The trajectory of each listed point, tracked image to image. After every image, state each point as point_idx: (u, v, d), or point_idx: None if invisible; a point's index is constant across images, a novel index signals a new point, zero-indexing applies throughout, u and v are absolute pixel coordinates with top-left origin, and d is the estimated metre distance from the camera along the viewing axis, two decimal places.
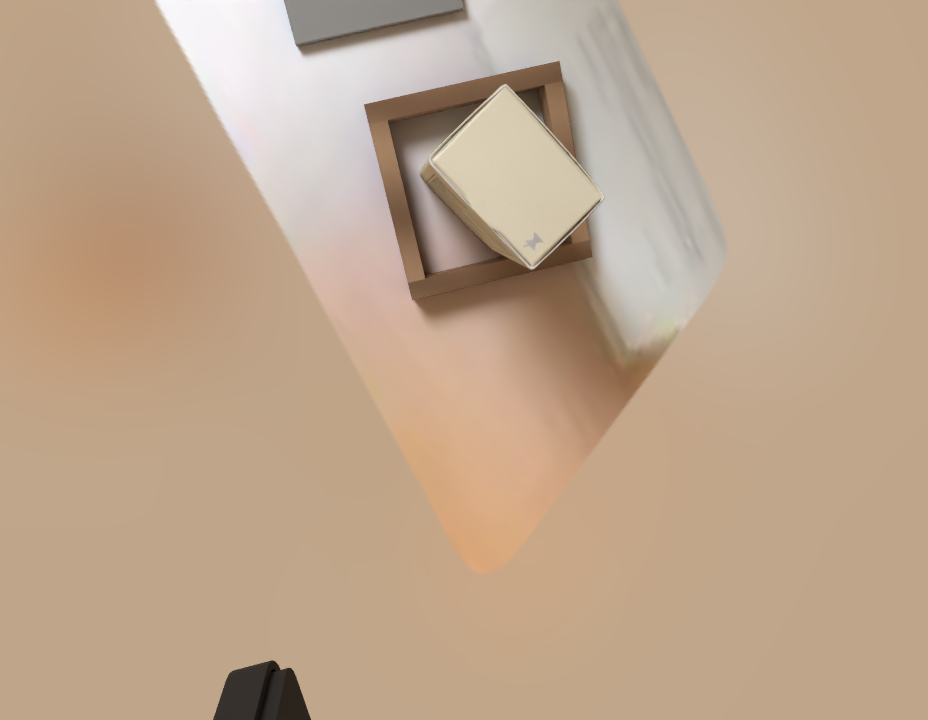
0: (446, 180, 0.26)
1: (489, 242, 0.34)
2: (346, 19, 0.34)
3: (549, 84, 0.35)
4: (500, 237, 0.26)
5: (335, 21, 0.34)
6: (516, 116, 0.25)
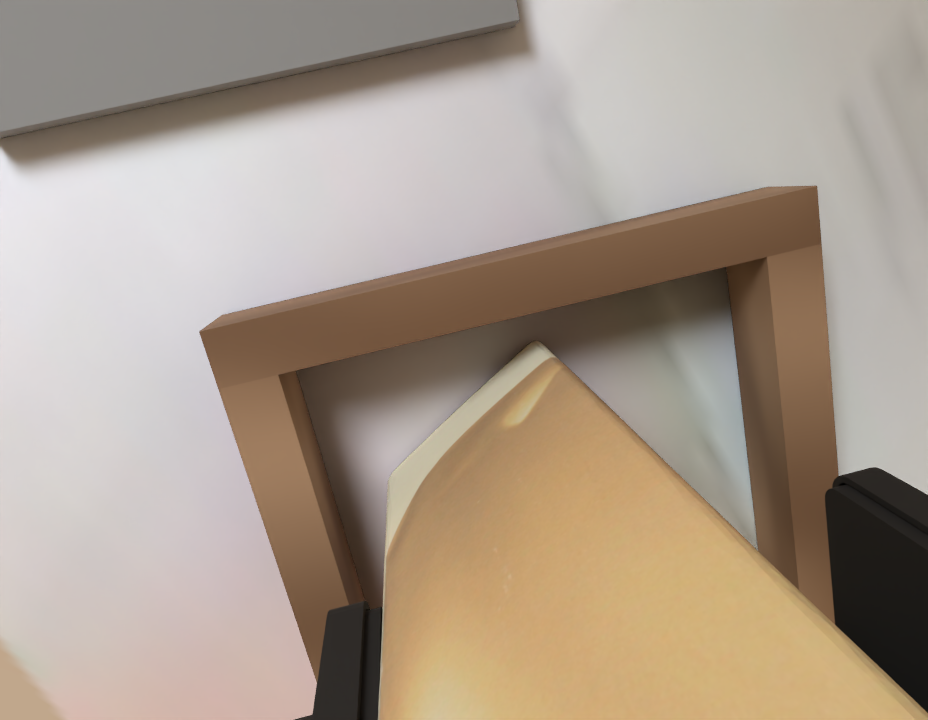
0: None
1: None
2: (140, 56, 0.10)
3: (781, 255, 0.11)
4: None
5: (103, 64, 0.10)
6: None
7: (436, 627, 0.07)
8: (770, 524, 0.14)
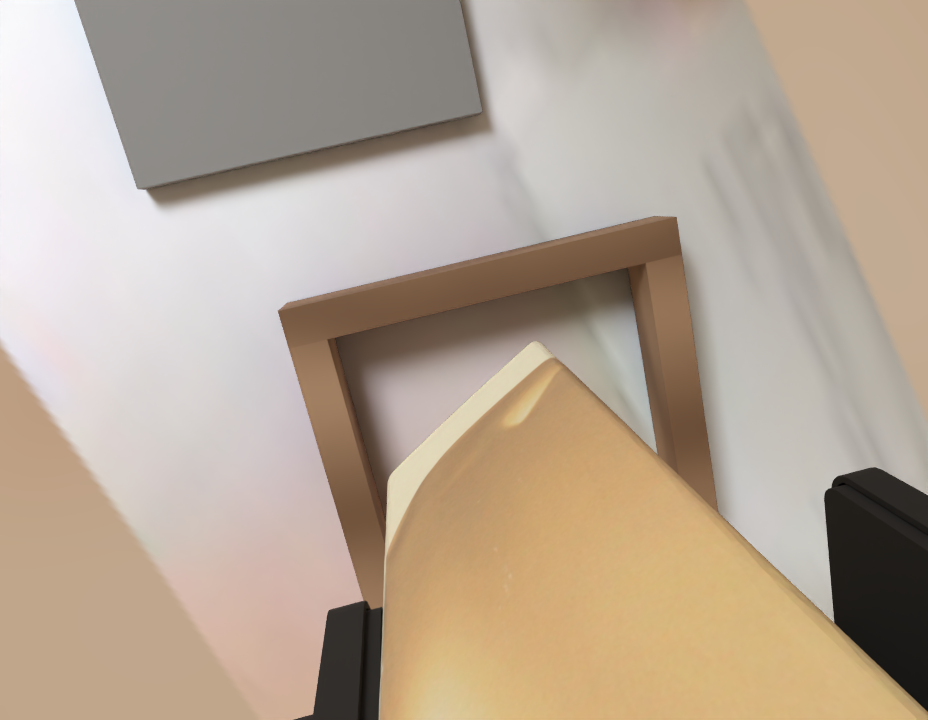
0: None
1: None
2: (242, 137, 0.17)
3: (655, 262, 0.17)
4: None
5: (219, 143, 0.17)
6: None
7: (437, 626, 0.07)
8: (664, 450, 0.20)
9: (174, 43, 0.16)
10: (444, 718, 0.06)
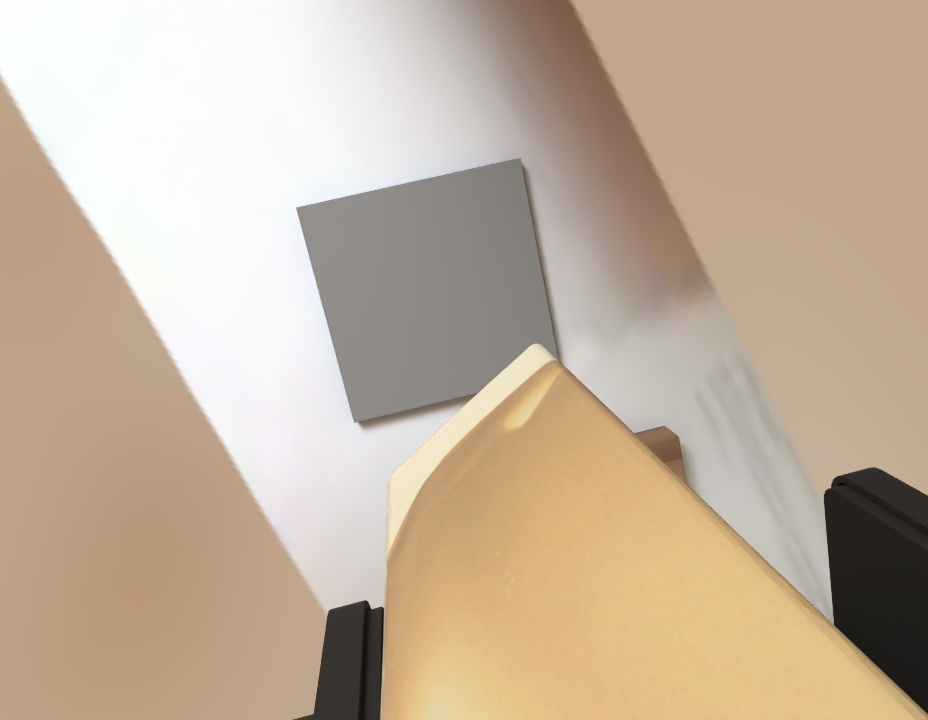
0: None
1: None
2: (417, 392, 0.28)
3: (665, 463, 0.28)
4: None
5: (404, 395, 0.28)
6: None
7: (438, 631, 0.07)
8: None
9: (382, 341, 0.27)
10: None
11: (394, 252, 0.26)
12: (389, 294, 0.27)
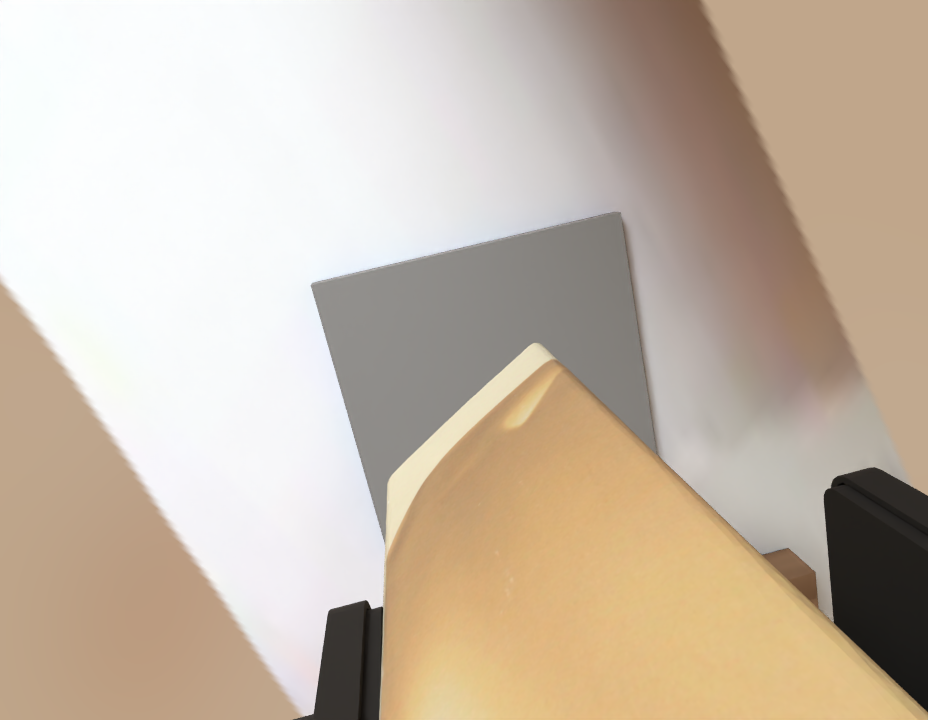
0: None
1: None
2: None
3: None
4: None
5: None
6: None
7: (437, 630, 0.07)
8: None
9: None
10: None
11: (446, 342, 0.19)
12: (439, 397, 0.20)
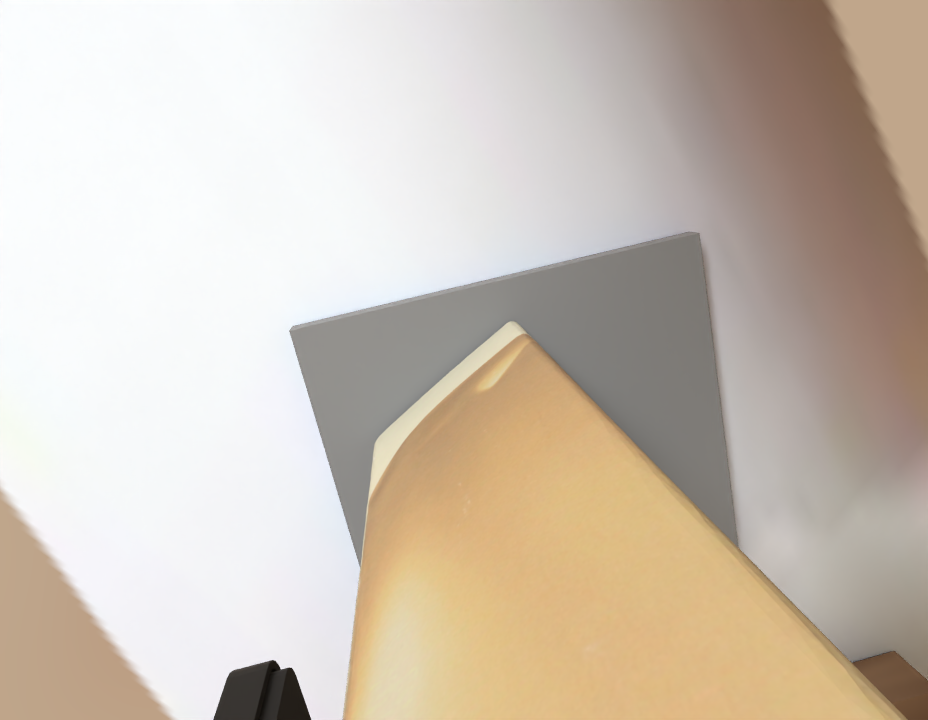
0: None
1: None
2: None
3: None
4: None
5: None
6: None
7: (406, 546, 0.09)
8: None
9: None
10: (406, 607, 0.07)
11: None
12: None
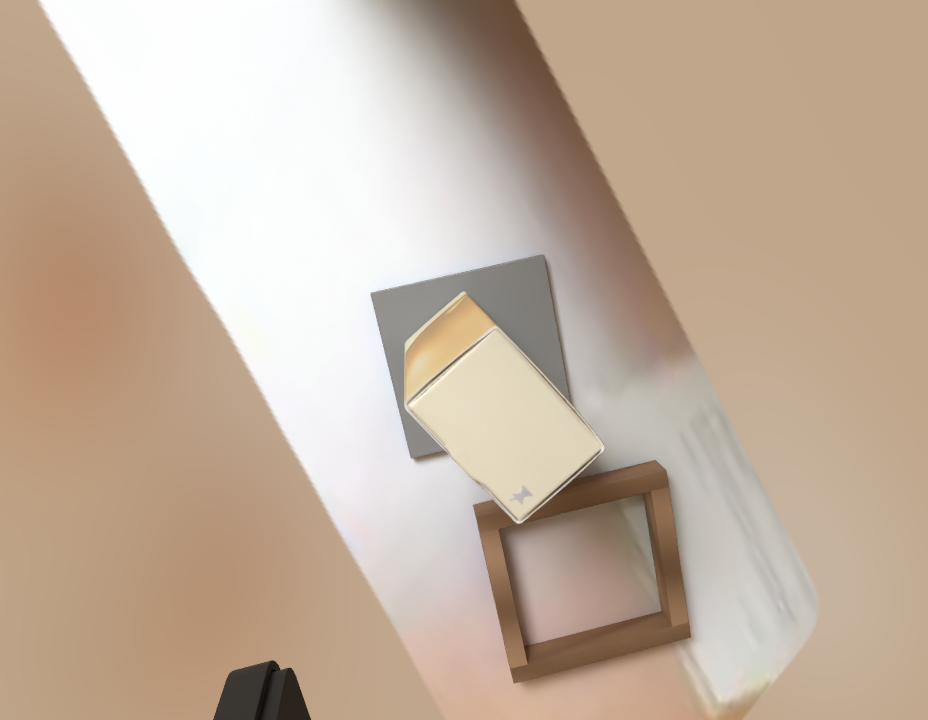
0: (424, 427, 0.22)
1: None
2: None
3: (655, 490, 0.36)
4: (483, 488, 0.23)
5: None
6: (506, 360, 0.22)
7: (420, 350, 0.28)
8: (659, 575, 0.38)
9: None
10: (421, 357, 0.27)
11: None
12: None
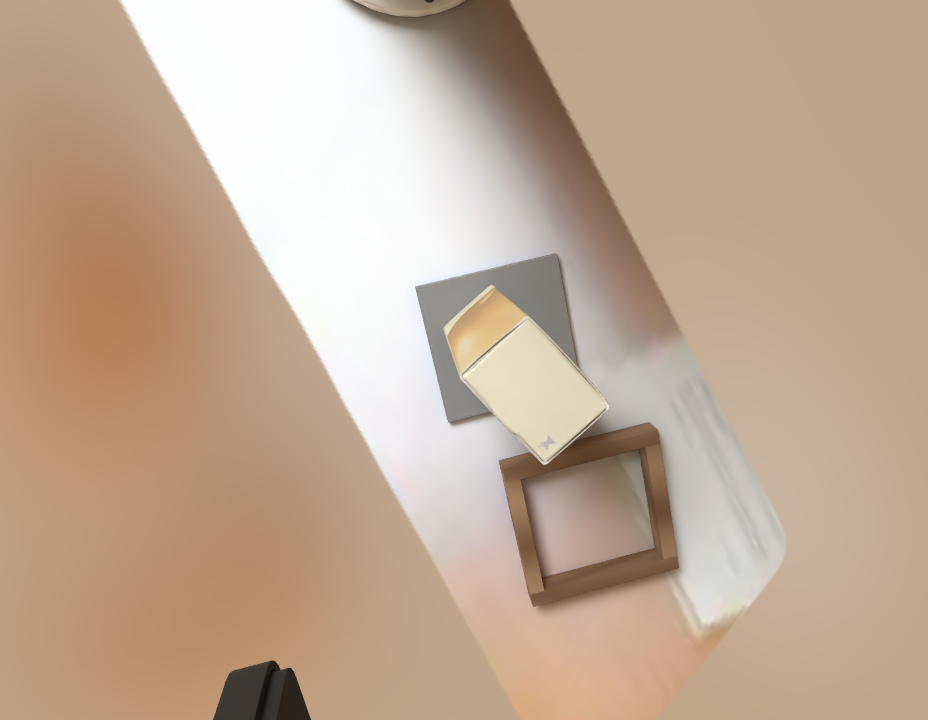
0: (474, 392, 0.30)
1: None
2: None
3: (649, 446, 0.44)
4: (518, 438, 0.31)
5: (480, 404, 0.43)
6: (536, 342, 0.29)
7: (462, 334, 0.35)
8: (652, 517, 0.46)
9: None
10: (464, 339, 0.34)
11: None
12: None
